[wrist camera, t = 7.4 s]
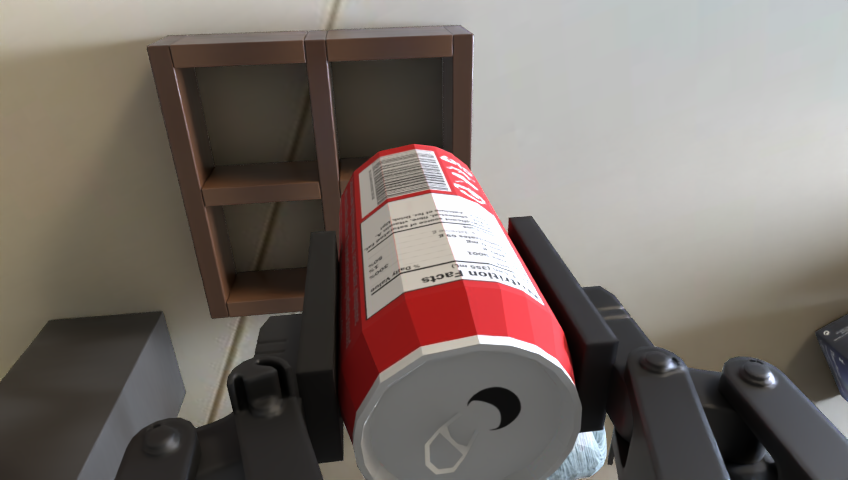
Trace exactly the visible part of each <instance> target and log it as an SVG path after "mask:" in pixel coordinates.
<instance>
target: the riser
mask: <svg viewBox="0 0 848 480" xmlns="http://www.w3.org/2000/svg"><path fill="white" fill-rule="evenodd" d="M185 394H186V391H185V387H184V384H183V380H182V377H181V373H180V370H179V366H178V363H177V359H176V356H175V352H174V349H173V345H172V342H171V339H170V335H169V332H168V328H167V325H166V321H165V318H164V314H163V311H159V312H147V313H134V314H122V315H110V316H98V317H85V318H73V319H61V320H50V321H48V323H47V324H46V325H45V326H44V328H43V329H42V330H41V331H40V333H39V334H38V335H37V336H36V338H35V339H34V340H33V341H32V343H31V344H30V345H29V346H28V348H27V349H26V350H25V351H24V353H23V354H22V355H21V356H20V358H19V359H18V360H17V361H16V363H15V364H14V365H13V367H12V368H11V369H10V370H9V372H8V373H7V374H6V375H5V377H4V378H3V379H2V380H1V382H0V480H114V479H115V477H116V474H117V471H118V469H119V466H120V463H121V461H122V458H123V455H124V453H125V450H126V447H127V446H128V444H129V442H130V441H131V439H132V438H133V436H135V435H136V434H137V433H138V432H139V431H140V430H141V429H143V428H144V427H146V426H148V425H150V424H152V423H154V422H156V421H159V420H163V419H167V418H177V416H178V413H179V410H180V407H181V405H182V402H183V399H184V396H185Z"/></svg>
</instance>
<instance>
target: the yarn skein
mask: <svg viewBox="0 0 848 480" xmlns="http://www.w3.org/2000/svg"><path fill="white" fill-rule="evenodd" d="M606 455H607V445H606V434H605V428H603V430H600V431H592V432H583V433H579V434H578V437H577V439H576V442H575V444H574V447H573V449H572V451H571V452H570V454H569V455H568V456H567V458H566V459H565V460H564V462H563V463H562V464H561V466H560V467H559V468H558V470H556V471H555V472H554V473H553V474H552V475H551V476H549V477H548V478H547V479H546V480H576V479H580V478H587V477H590V476H592V475H594V474H595V473H596V472H597V471H598V470H599V469H600V468H601V467H602V466H603V464H604V461H605V458H606Z"/></svg>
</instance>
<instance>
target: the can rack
mask: <svg viewBox="0 0 848 480" xmlns="http://www.w3.org/2000/svg"><path fill="white" fill-rule="evenodd" d="M473 48H474V35H473V34H472V33H471V32H470V31H468V30H467V29H465V28H464V27H462V26H461V25H451V26H443V27H442V26H422V27H394V28H365V29H337V30H328V31H327V30H311V31H280V32H252V33H224V34H196V35H170V36H166V37H164V38H162V39H160V40H158V41H156V42H154V43H152V44H150V45H148V46H147V52H148V56H149V60H150V64H151V68H152V73H153V77H154V81H155V85H156V89H157V93H158V98H159V102H160V106H161V110H162V114H163V119H164V123H165V127H166V131H167V135H168V139H169V144H170V148H171V152H172V156H173V160H174V164H175V169H176V173H177V177H178V181H179V185H180V190H181V194H182V198H183V202H184V206H185V210H186V215H187V219H188V223H189V227H190V231H191V235H192V240H193V244H194V248H195V252H196V256H197V261H198V265H199V269H200V273H201V277H202V281H203V286H204V290H205V294H206V298H207V302H208V306H209V311H210V315H211V318H212V319H213V318H225V317H229V316H230V317H239V316H251V315H263V314H275V313H287V312H299V311H303V302H304V293H305V284H306V275H307V267H304V268H291V269H278V270H265V271H252V272H239V273H237V274H236V269H235V264H234V259H233V254H232V249H231V244H230V240H229V235H228V230H227V225H226V220H225V215H224V210H223V205H238V204H253V203H269V202H284V201H300V200H315V199H321V200H322V208H323V217H324V226H325V231H336V239H337V249H338V259H339V212H340V204H341V196H342V194H343V192H344V190H345V188H346V186H347V184H348V182H349V180H350V178H351V176H352V174H353V172H354V171H355V170H356V169H357V168H359V167H360V166H361V165H362V164H364V163H365V162H366V161H367V160H369V159H370V158H371V157H364V158H346V159H340V155H339V144H338V133H337V123H336V112H335V101H334V90H333V80H332V69H331V62H338V61H363V60H387V59H412V58H436V57H442V68H443V150H445V151H447V152H450V153H451V154H453V155H454V156H455V157H457V158H458V159H459V160H460V161H462V162H463V163H464V164H466V165H467V167H468V168H469V170H470V171H471V140H472V94H473ZM291 63H306V67H307V76H308V85H309V94H310V103H311V112H312V120H313V129H314V138H315V147H316V156H317V160H313V161H295V162H278V163H261V164H244V165H226V166H214V161H213V156H212V152H211V147H210V142H209V137H208V132H207V127H206V122H205V117H204V112H203V108H202V103H201V98H200V93H199V88H198V83H197V78H196V73H195V68H194V67H218V66H242V65H266V64H291Z"/></svg>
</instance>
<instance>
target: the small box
mask: <svg viewBox="0 0 848 480" xmlns="http://www.w3.org/2000/svg"><path fill="white" fill-rule="evenodd" d="M815 334H816V337H817V339H818V341H819V344H820V346H821V349H822V351H823V353H824V356H825V358H826V360H827V363H828V365H829V368H830V370H831V372H832V375H833V377H834V379H835V382H836V384H837V387H838V389H839V392H840V394H841V396H842V397H843V398H844V399H845V400H846V401H847V402H848V314H847V315H845V316H843V317H841V318H839V319H838V320H836V321H834V322H832V323H830V324H828V325H826V326H825V327H823V328H821V329H820V330H818V331H816V332H815Z"/></svg>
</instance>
